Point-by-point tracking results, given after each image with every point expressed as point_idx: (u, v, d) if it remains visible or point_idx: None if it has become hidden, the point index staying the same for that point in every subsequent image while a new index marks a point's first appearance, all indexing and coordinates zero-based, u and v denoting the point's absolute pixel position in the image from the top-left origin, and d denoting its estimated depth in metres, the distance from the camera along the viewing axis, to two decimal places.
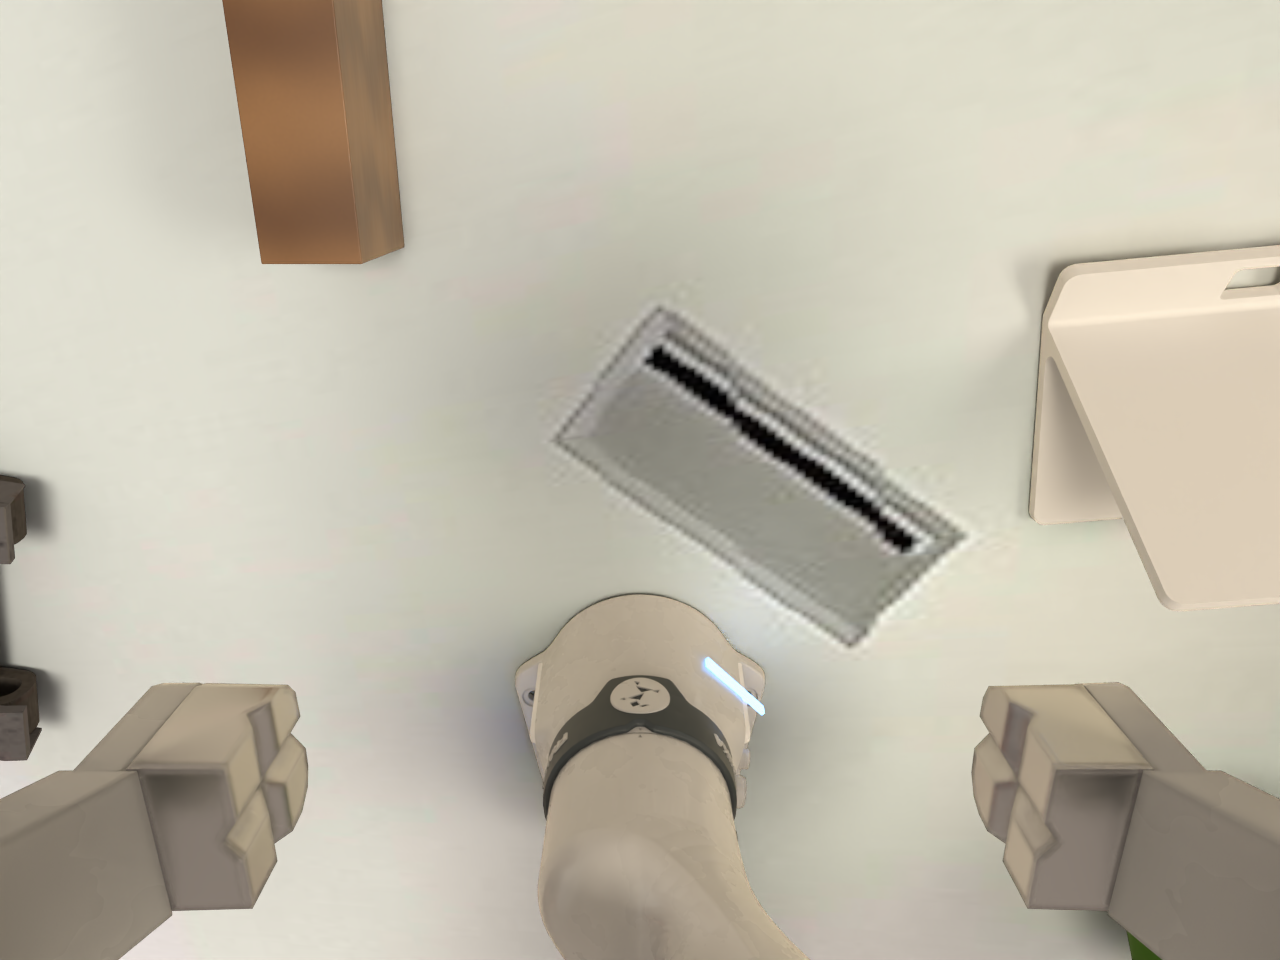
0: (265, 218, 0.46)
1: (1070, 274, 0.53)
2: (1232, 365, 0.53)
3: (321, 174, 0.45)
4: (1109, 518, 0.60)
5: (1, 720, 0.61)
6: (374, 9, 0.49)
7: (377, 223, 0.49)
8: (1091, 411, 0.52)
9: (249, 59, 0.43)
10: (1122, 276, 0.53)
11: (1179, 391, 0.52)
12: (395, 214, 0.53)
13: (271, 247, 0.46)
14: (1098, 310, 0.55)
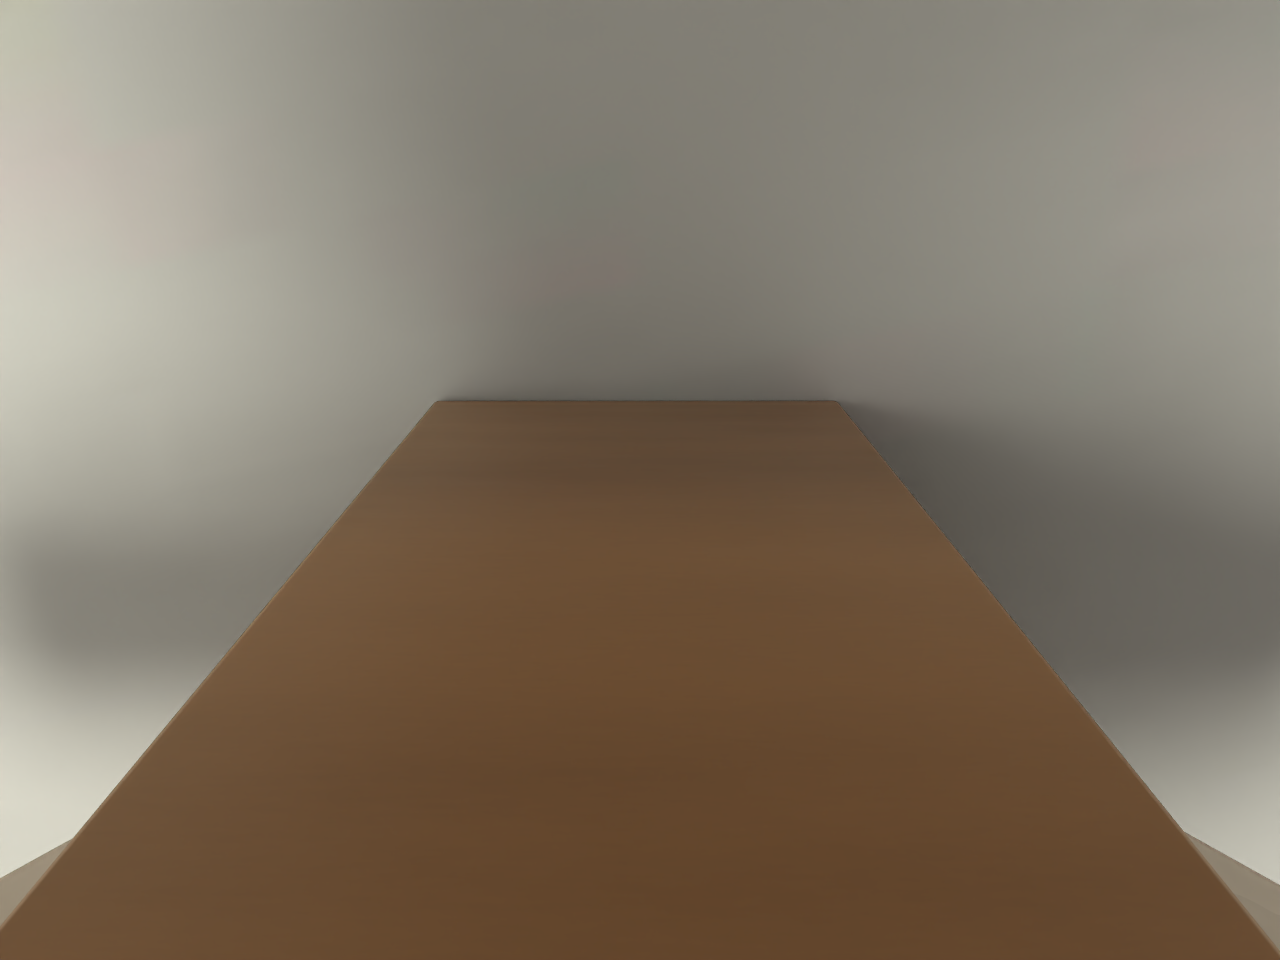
0: None
1: None
2: None
3: None
4: None
5: None
6: None
7: None
8: None
9: None
10: None
11: None
12: None
13: None
14: None
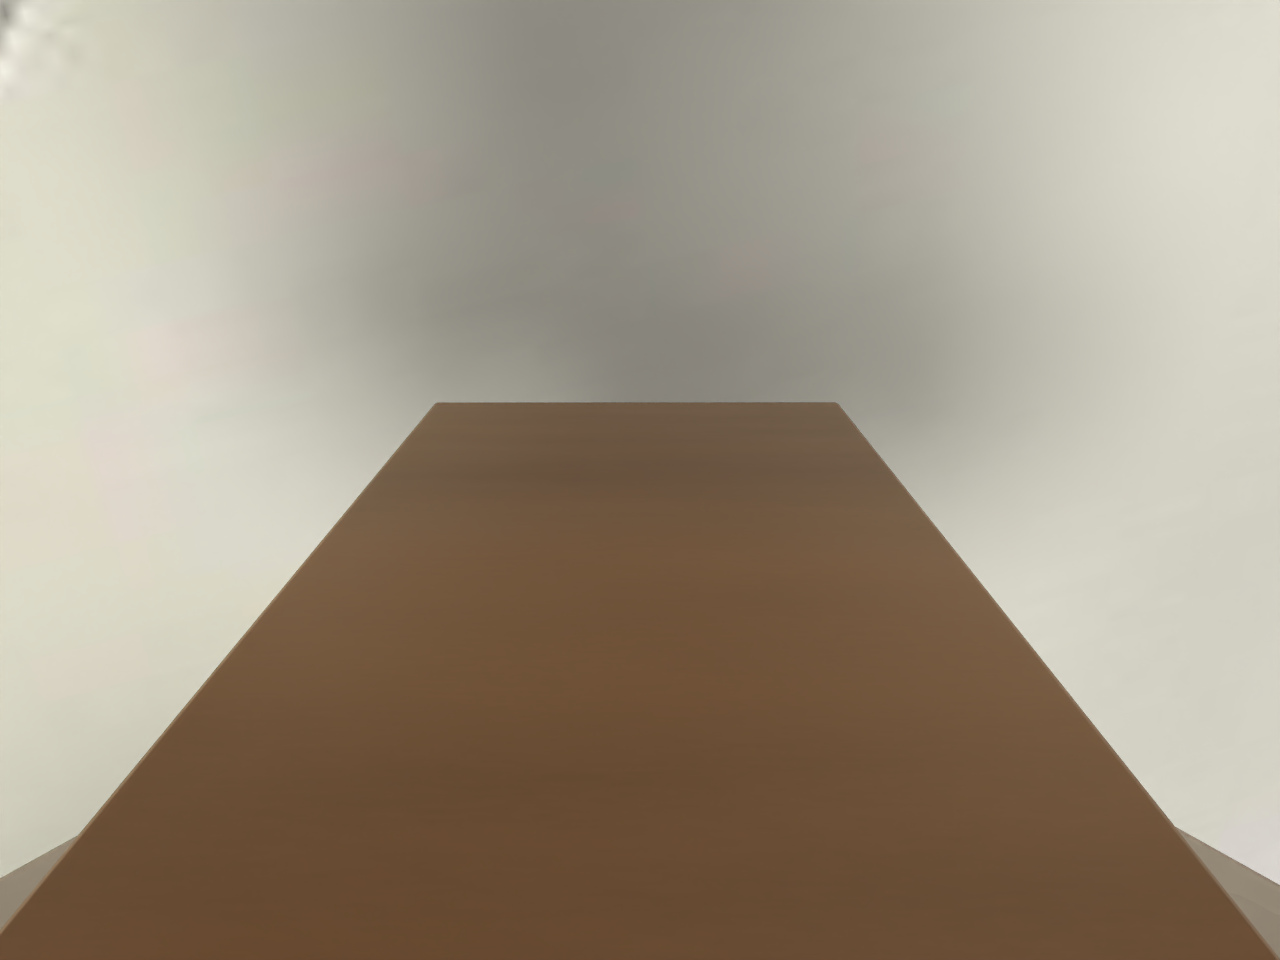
0: None
1: None
2: None
3: None
4: None
5: None
6: None
7: None
8: None
9: None
10: None
11: None
12: None
13: None
14: None
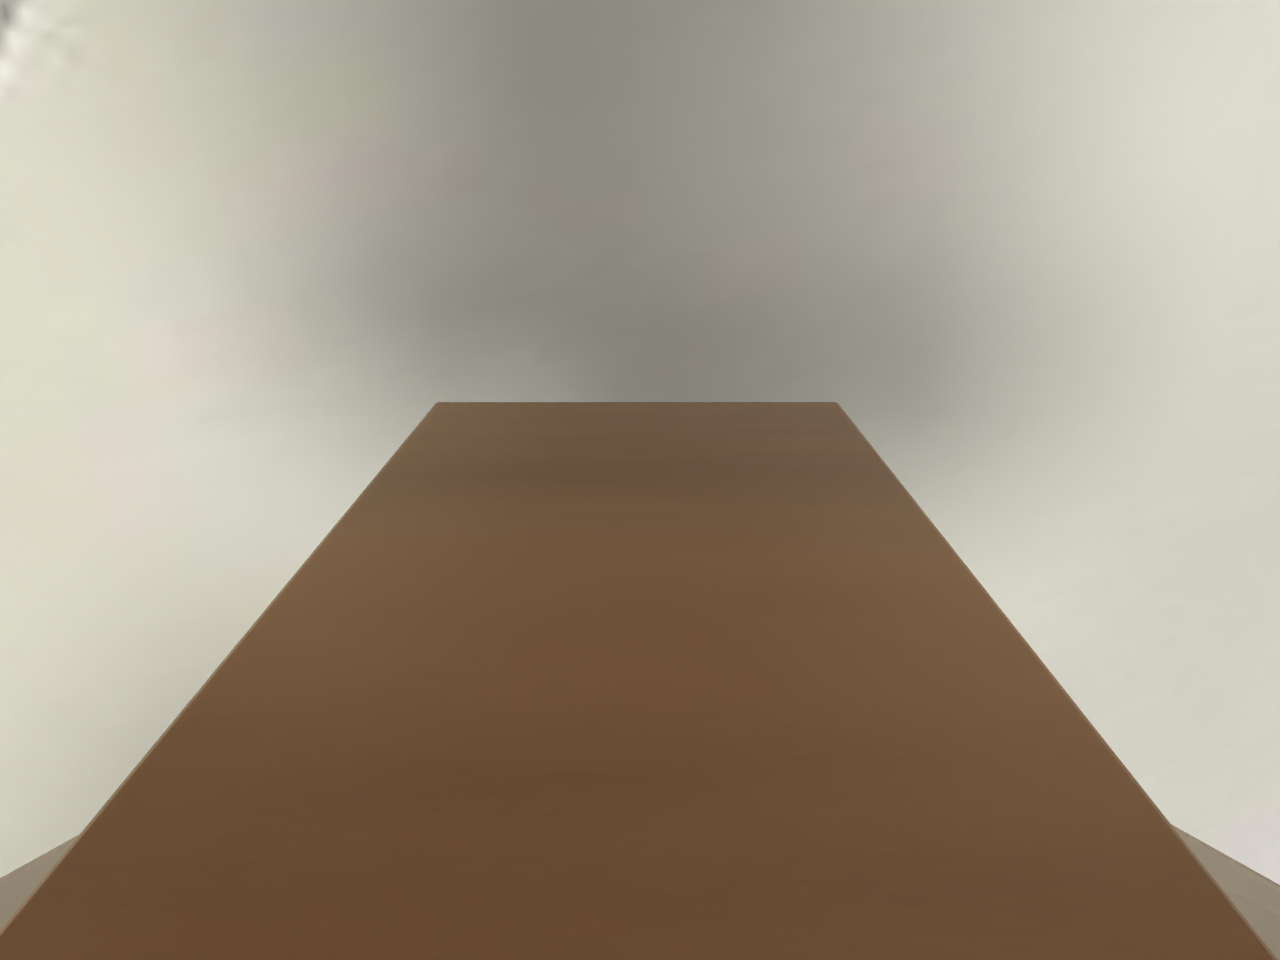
0: None
1: None
2: None
3: None
4: None
5: None
6: None
7: None
8: None
9: None
10: None
11: None
12: None
13: None
14: None
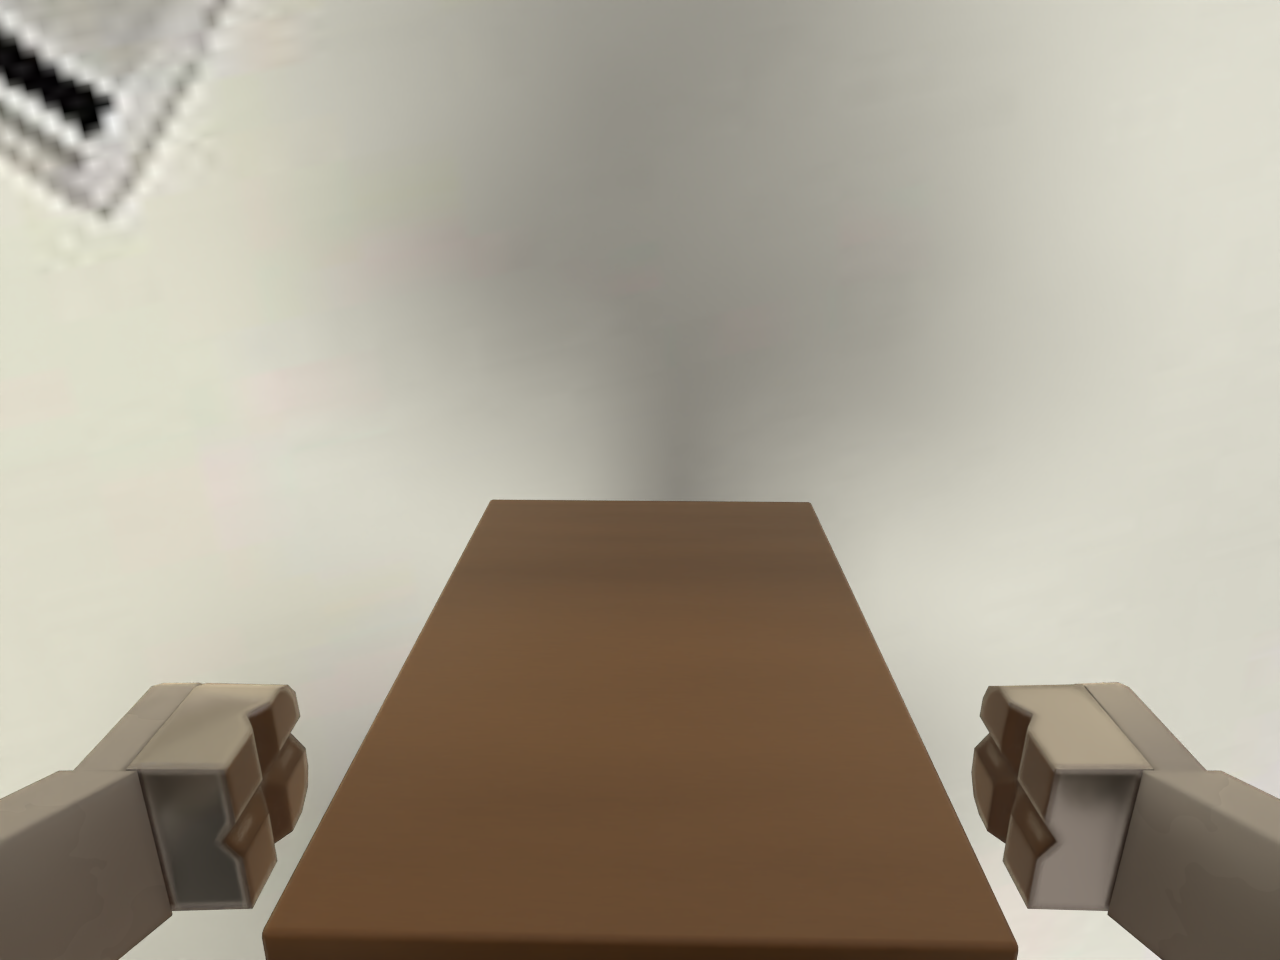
0: None
1: None
2: None
3: None
4: None
5: None
6: None
7: None
8: None
9: None
10: None
11: None
12: None
13: None
14: None
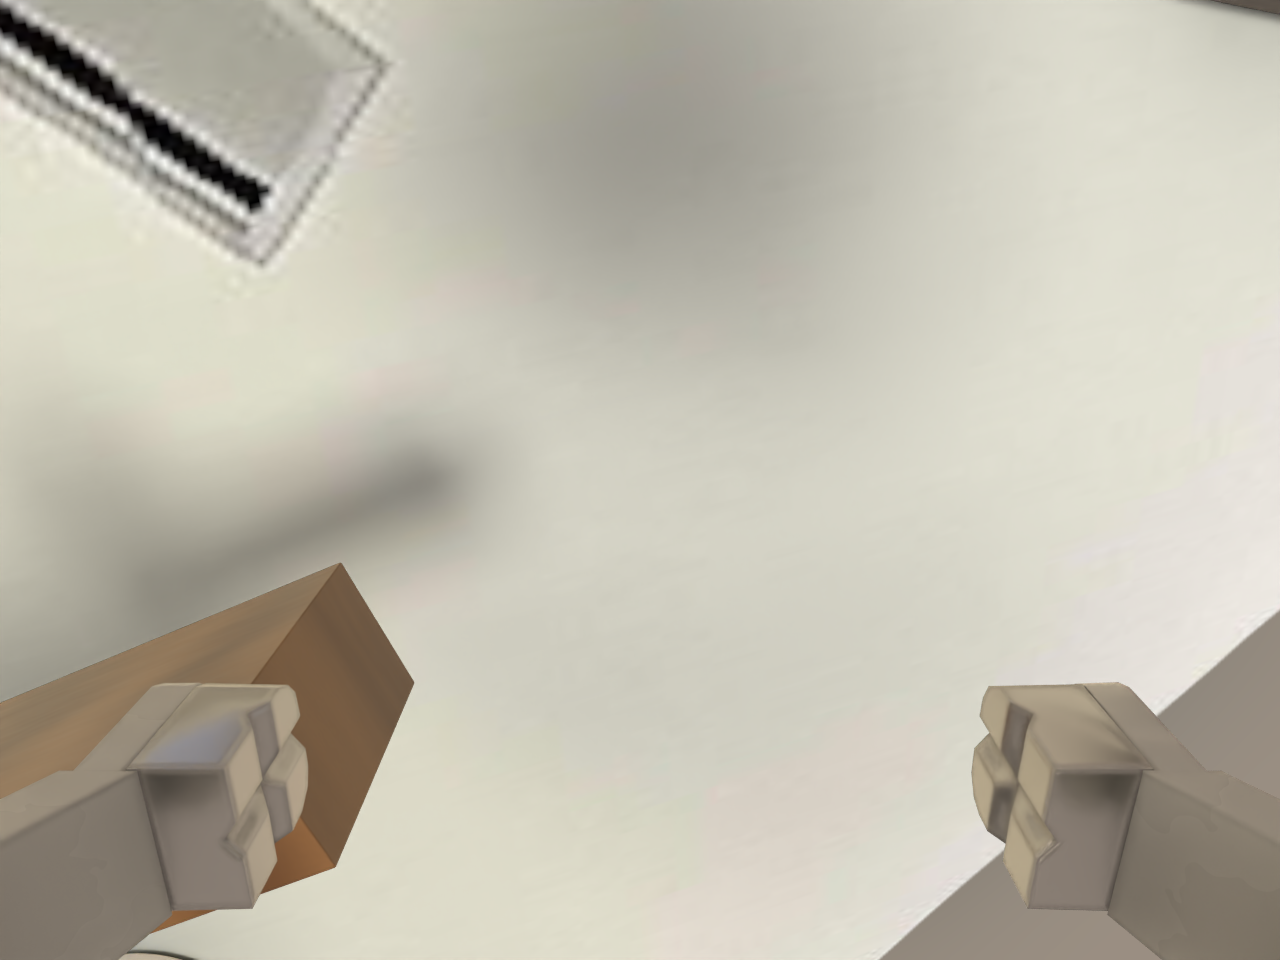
0: None
1: None
2: None
3: None
4: None
5: None
6: (0, 717, 0.31)
7: (227, 663, 0.26)
8: None
9: None
10: None
11: None
12: (273, 603, 0.29)
13: (296, 860, 0.24)
14: None
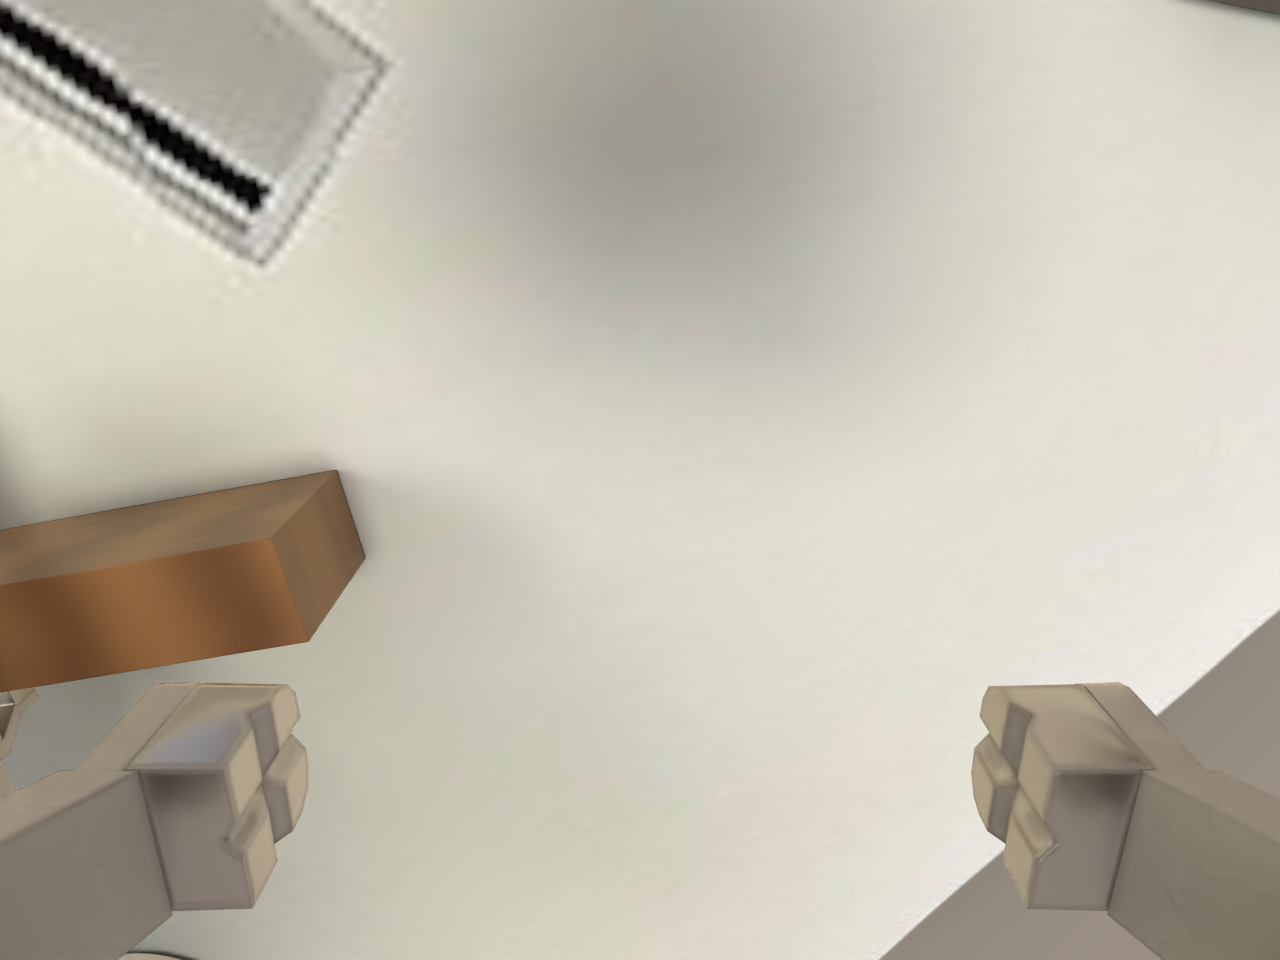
0: (256, 639, 0.40)
1: None
2: None
3: (186, 586, 0.39)
4: None
5: None
6: (89, 523, 0.46)
7: (263, 514, 0.42)
8: None
9: (100, 658, 0.41)
10: None
11: None
12: (289, 486, 0.46)
13: (286, 632, 0.40)
14: None
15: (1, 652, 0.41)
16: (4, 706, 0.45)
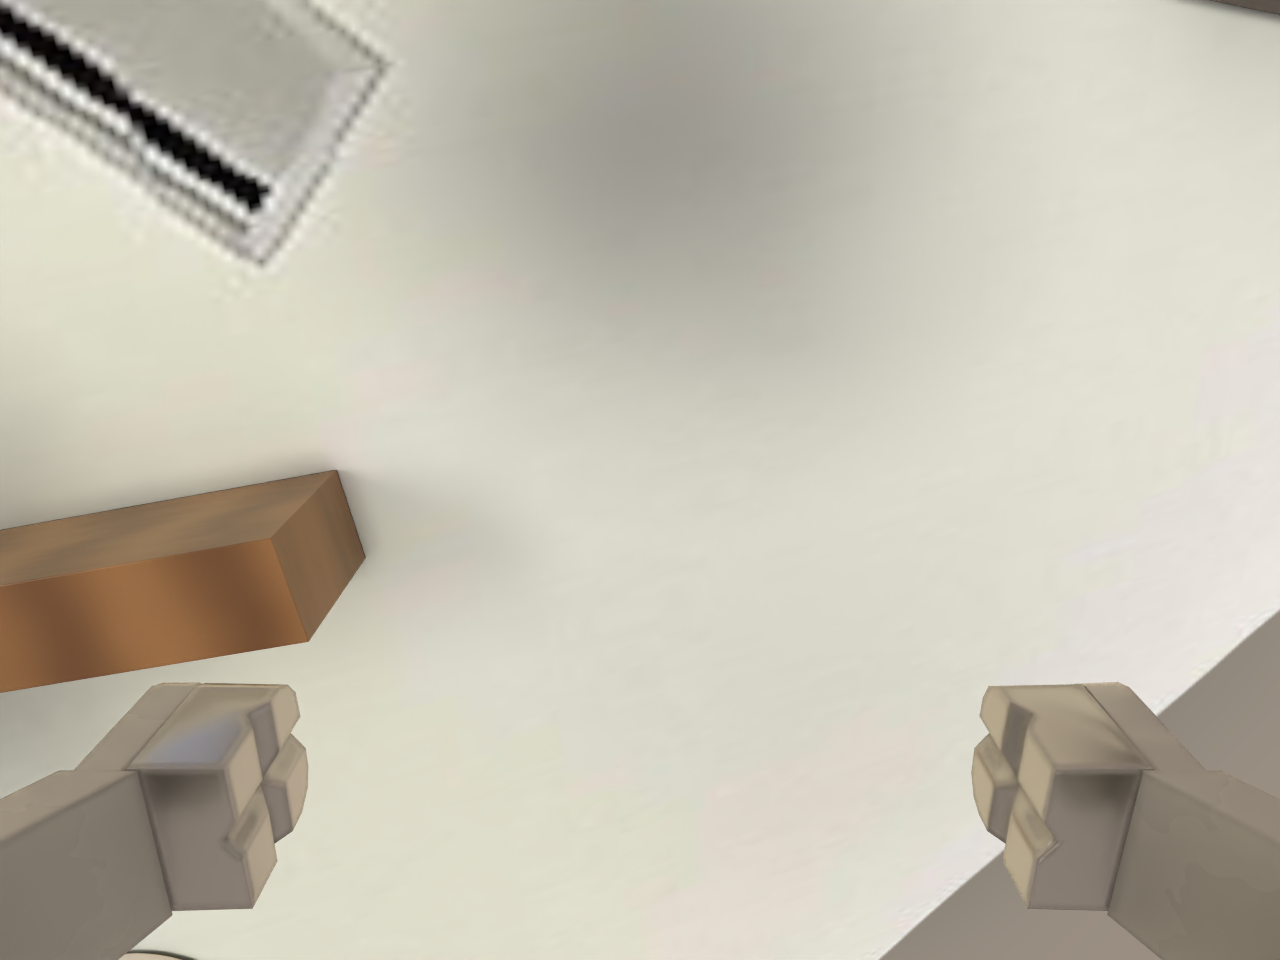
0: (256, 639, 0.40)
1: None
2: None
3: (186, 586, 0.39)
4: None
5: None
6: (88, 523, 0.46)
7: (263, 514, 0.42)
8: None
9: (100, 658, 0.41)
10: None
11: None
12: (289, 486, 0.46)
13: (286, 632, 0.40)
14: None
15: (1, 652, 0.41)
16: None
